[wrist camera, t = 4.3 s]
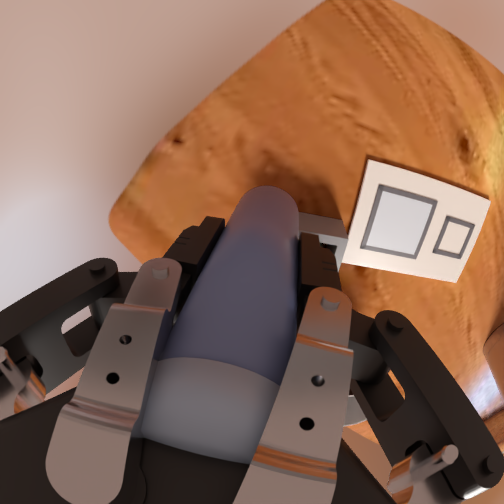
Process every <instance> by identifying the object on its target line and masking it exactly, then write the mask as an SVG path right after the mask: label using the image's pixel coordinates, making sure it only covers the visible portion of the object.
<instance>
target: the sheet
mask: <svg viewBox="0 0 504 504" xmlns="http://www.w3.org/2000/svg"><path fill="white" fill-rule="evenodd" d="M490 203H491V201H490V200H488V199H486V198H483V197H481V196H479V195H476V194H474V193H471V192H469V191H466V190H464V189H461V188H458V187H456V186H453V185H450V184H448V183H445V182H442V181H439V180H437V179H434V178H431V177H428V176H425V175H422V174H419V173H415V172H412V171H409V170H406V169H403V168H399V167H396V166H392V165H389V164H385V163H382V162H378V161H374V160H370V159H368V160H367V165H366V169H365V173H364V177H363V181H362V185H361V189H360V193H359V197H358V201H357V204H356V208H355V212H354V215H353V219H352V222H351V226H350V229H349V233H348V239H349V240H348V243H347V246H346V250H345V253H344V256H343V259H342V263H347V264H353V265H359V266H365V267H370V268H376V269H382V270H387V271H393V272H399V273H404V274H410V275H415V276H421V277H427V278H432V279H438V280H443V281H449V282H454V283H456V282H457V280H458V278H459V276H460V274H461V272H462V270H463V268H464V266H465V264H466V262H467V260H468V258H469V255H470V253H471V251H472V249H473V247H474V244H475V242H476V240H477V237H478V235H479V232H480V230H481V227H482V225H483V222H484V220H485V217H486V214H487V212H488V209H489V206H490Z"/></svg>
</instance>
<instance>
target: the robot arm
mask: <svg viewBox="0 0 504 504" xmlns="http://www.w3.org/2000/svg"><path fill="white" fill-rule="evenodd" d="M224 228H225V219H222V218H216V217H210V216H206V218H205V219H204V220H203V222H202V223H201V224H200V226H191V227H189V228H187V229H185V230H183V232H182V233H181V234H180V235H179V238H177V239H176V241H175V243H173V244H172V246H171V247H170V248H169V249H168V251H167V252H166V253H165V255H164V256H163V257H162V258H155V259H151V260H149V261H147V262H145V263H144V264H143V265H142V266H141V268H140V269H139V272H118V267H117V264H116V262H115V261H113V260H112V259H108V258H96V259H93V260H90V261H88V262H86V263H84V264H82V265H80V266H78V267H77V268H75V269H73V270H71V271H69V272H67V273H65V274H64V275H62V276H60V277H58V278H56V279H55V280H53V281H51V282H50V283H48V284H46V285H44V286H42V287H41V288H39V289H37V290H35V291H34V292H32V293H30V294H29V295H27V296H25V297H23V298H22V299H20V300H18V301H17V302H15V303H14V304H12V305H10V306H9V307H7V308H6V309H4V310H2V311H1V312H0V504H460V503H461V502H462V501H465V500H467V499H469V498H471V497H474V496H476V495H478V494H480V493H482V492H484V491H486V490H488V489H490V488H492V487H494V486H495V485H496V484H498V482H499V481H500V480H501V478H502V476H503V473H504V456H503V454H502V452H501V450H500V448H499V446H498V445H497V443H496V441H495V440H494V438H493V436H492V435H491V433H490V431H489V430H488V428H487V427H486V425H485V423H484V422H483V420H482V419H481V417H480V416H479V414H478V413H477V411H476V410H475V408H474V407H473V405H472V404H471V402H470V401H469V399H468V398H467V396H466V395H465V393H464V392H463V390H462V389H461V388H460V386H459V385H458V383H457V382H456V381H455V379H454V378H453V376H452V375H451V374H450V372H449V371H448V370H447V368H446V367H445V366H444V364H443V363H442V362H441V360H440V359H439V358H438V356H437V355H436V354H435V352H434V351H433V350H432V348H431V347H430V346H429V345H428V343H427V342H426V341H425V340H424V338H423V337H422V336H421V335H420V333H419V332H418V331H417V330H416V328H415V327H414V326H413V325H412V323H411V322H410V321H409V320H408V319H407V318H406V317H405V316H403V315H402V314H400V313H398V312H395V311H390V310H385V311H381V312H379V313H378V314H377V315H376V317H375V319H373V318H371V317H368V316H365V315H363V314H360V313H358V312H356V311H355V310H353V309H352V303H351V301H350V299H349V298H348V296H347V295H346V294H344V293H343V292H342V290H341V284H340V278H339V273H338V268H337V262H336V257H335V255H334V254H333V253H332V252H331V251H330V249H327V248H322V247H320V242H319V235H316V234H310V233H305V232H301V233H300V236H299V241H298V290H297V328H296V340H295V343H294V346H293V349H292V352H291V355H290V358H289V361H288V364H287V367H286V370H285V373H284V376H283V379H282V382H281V385H280V388H279V391H278V394H277V396H276V399H275V402H274V405H273V407H272V410H271V413H270V415H269V418H268V421H267V423H266V426H265V429H264V431H263V434H262V436H261V439H260V441H259V444H258V446H257V449H256V451H255V453H254V456H253V458H252V460H251V463H250V464H245V463H239V462H233V461H228V460H223V459H218V458H213V457H209V456H205V455H201V454H197V453H193V452H189V451H185V450H182V449H178V448H175V447H172V446H168V445H165V444H162V443H159V442H156V441H153V440H150V439H147V438H145V437H144V435H143V433H142V431H141V428H142V423H143V419H144V414H145V410H146V406H147V402H148V398H149V394H150V390H151V386H152V383H153V379H154V375H155V372H156V368H157V365H158V361H159V358H160V355H161V353H162V352H163V351H164V350H165V347H166V344H167V341H168V338H169V335H170V333H171V331H172V328H173V326H174V324H175V322H176V320H177V318H178V316H179V314H180V312H181V310H182V308H183V306H184V304H185V302H186V300H187V298H188V296H189V294H190V292H191V291H192V289H193V287H194V285H195V283H196V281H197V279H198V277H199V275H200V273H201V271H202V269H203V267H204V266H205V264H206V262H207V260H208V258H209V256H210V254H211V252H212V251H213V249H214V247H215V245H216V243H217V241H218V239H219V237H220V236H221V234H222V232H223V230H224ZM87 306H89V309H90V312H91V315H92V316H90V317H89V318H87V319H86V320H84V321H83V322H81V323H80V324H78V325H76V326H75V327H73V328H72V329H70V330H69V331H68V332H66V333H65V334H62V332H61V327H62V324H63V322H64V321H65V320H66V319H68V318H69V317H71V316H72V315H74V314H76V313H77V312H78V311H80V310H82V309H83V308H85V307H87ZM483 353H484V355H485V358H486V360H487V362H488V364H489V367H490V369H491V372H492V374H493V377H494V379H495V382H496V384H497V387H498V390H499V392H500V395H501V398H502V401H503V404H504V324H502V325H501V326H500V327H499V328H497V329H496V330H495V331H494V332H493V333H492V335H491V336H490V337H489V338H488V340H487V341H486V343H485V345H484V348H483ZM84 366H85V367H84ZM83 367H84V370H83V372H82V375H81V377H80V380H79V383H78V386H77V387H75V388H73V389H70V390H68V391H66V392H64V393H62V394H60V395H57V396H55V397H53V398H51V399H48V400H46V401H45V400H44V399H45V395H46V394H47V393H49V392H50V391H51V390H53V389H54V388H56V387H57V386H58V385H60V384H61V383H63V382H64V381H65V380H67V379H68V378H69V377H71V376H72V375H73V374H75V373H76V372H77V371H79V370H80V369H82V368H83ZM390 369H391V371H392V372H393V374H394V375H395V377H396V378H397V380H398V381H399V383H400V384H401V386H402V388H403V389H404V392H405V400H404V398H403V397H402V395H401V393H400V392H399V390H398V389H397V387H396V386H395V384H394V382H393V381H392V379H391V378H390V376H389V375H388V372H389V371H390ZM349 389H351V391H352V393H353V395H354V397H355V398H356V400H357V402H358V404H359V406H360V408H361V410H362V411H363V413H364V415H365V417H366V419H367V421H368V423H369V424H370V426H371V428H372V430H373V432H374V434H375V436H376V438H377V439H378V441H379V443H380V445H381V447H382V449H383V451H384V452H385V455H386V456H387V458H388V460H389V462H390V464H391V466H392V470H391V471H390V475H389V481H388V483H387V488H388V490H389V491H390V492H392V497H391V496H390V495H389V494H388V493H387V492H386V490H385V489H384V488H383V487H382V486H381V485H380V483H379V482H378V481H377V480H376V479H375V478H374V476H373V475H372V474H371V473H370V472H369V470H368V469H367V468H366V467H365V466H364V464H363V463H362V462H361V461H360V459H359V458H358V457H357V456H356V455H355V453H354V452H353V451H352V450H351V449H350V447H349V446H348V445H347V444H346V442H345V441H344V440H343V439H342V432H343V426H344V421H345V415H346V409H347V403H348V396H349Z"/></svg>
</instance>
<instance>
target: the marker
mask: <svg viewBox="0 0 504 504" xmlns="http://www.w3.org/2000/svg"><path fill="white" fill-rule="evenodd" d="M298 241H299V212H298V207H297V205H296V203H295V201H294V199H293V198H292V197H291V196H290V195H289V194H288V193H287V192H285V191H284V190H282V189H280V188H277V187H274V186H259V187H255V188H253V189H251V190H249V191H248V192H247V193H245V194H244V195H243V197H242V198H241V199H240V201H239V203H238V205H237V206H236V208H235V210H234V212H233V214H232V215H231V217H230V219H229V221H228V223H227V225H226V226H225V228H224V230H223V232H222V234H221V236H220V237H219V239H218V241H217V243H216V245H215V247H214V249H213V251H212V252H211V254H210V256H209V258H208V260H207V262H206V264H205V266H204V267H203V269H202V271H201V273H200V275H199V277H198V279H197V281H196V283H195V285H194V287H193V289H192V291H191V292H190V294H189V296H188V298H187V300H186V302H185V304H184V306H183V308H182V310H181V312H180V314H179V316H178V318H177V320H176V322H175V324H174V326H173V328H172V331H171V333H170V335H169V338H168V341H167V344H166V347H165V350H164V351H163V352H162V353H161V355H160V358H159V361H158V365H157V368H156V372H155V375H154V379H153V383H152V386H151V390H150V394H149V398H148V402H147V406H146V410H145V414H144V419H143V423H142V428H141V431H142V433H143V435H144V437H145V438H147V439H150V440H153V441H156V442H159V443H162V444H165V445H168V446H172V447H175V448H178V449H182V450H185V451H189V452H193V453H197V454H201V455H205V456H209V457H213V458H218V459H223V460H228V461H233V462H239V463H245V464H250V463H251V460H252V458H253V456H254V453H255V451H256V449H257V446H258V444H259V441H260V439H261V436H262V434H263V431H264V429H265V426H266V423H267V421H268V418H269V415H270V413H271V410H272V407H273V405H274V402H275V399H276V396H277V394H278V391H279V388H280V385H281V382H282V379H283V376H284V373H285V370H286V367H287V364H288V361H289V358H290V355H291V352H292V349H293V346H294V343H295V340H296V328H297V290H298Z"/></svg>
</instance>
